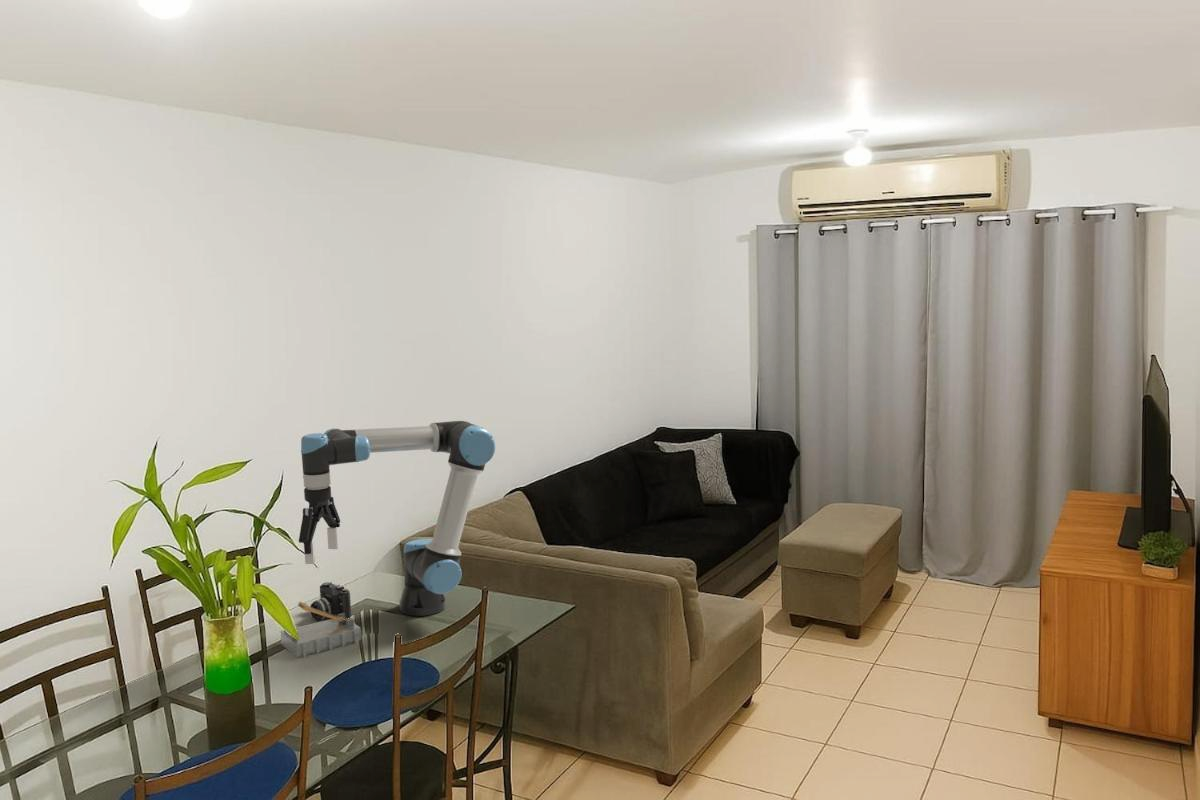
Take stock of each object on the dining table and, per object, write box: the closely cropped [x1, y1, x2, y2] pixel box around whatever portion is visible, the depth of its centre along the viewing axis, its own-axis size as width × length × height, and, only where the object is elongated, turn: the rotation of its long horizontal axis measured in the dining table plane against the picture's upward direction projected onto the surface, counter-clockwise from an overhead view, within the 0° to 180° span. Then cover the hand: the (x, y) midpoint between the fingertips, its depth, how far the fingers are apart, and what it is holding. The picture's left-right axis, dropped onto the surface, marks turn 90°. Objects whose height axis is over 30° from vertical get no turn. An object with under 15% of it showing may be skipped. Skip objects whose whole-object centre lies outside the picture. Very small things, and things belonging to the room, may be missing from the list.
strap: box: [297, 601, 348, 623], centre depth 281 cm, size 17×5×1 cm, turn 133°
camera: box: [309, 581, 352, 621], centre depth 301 cm, size 14×11×10 cm
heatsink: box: [280, 613, 362, 658], centre depth 281 cm, size 20×14×6 cm
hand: (321, 556), depth 276 cm, fingers open, 13 cm apart
